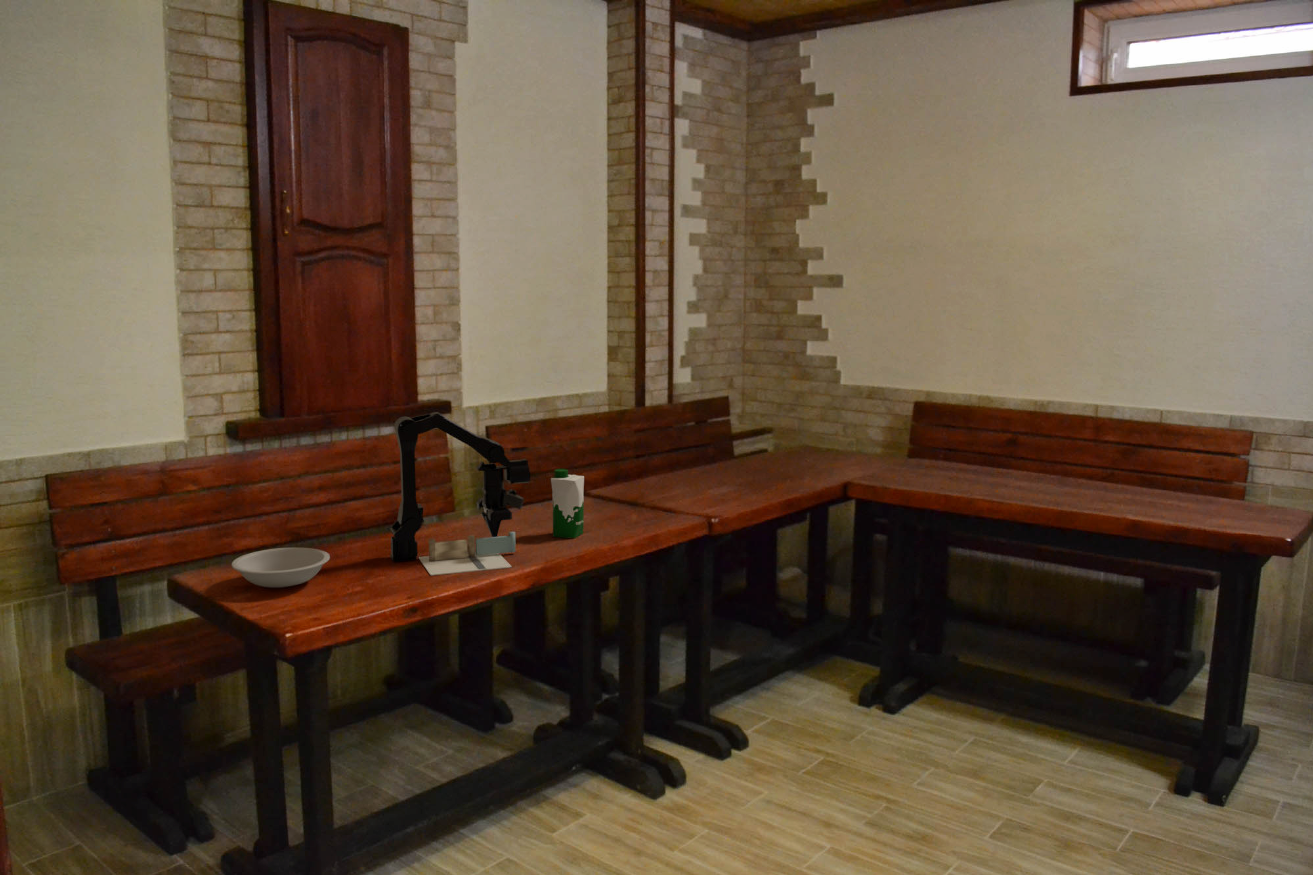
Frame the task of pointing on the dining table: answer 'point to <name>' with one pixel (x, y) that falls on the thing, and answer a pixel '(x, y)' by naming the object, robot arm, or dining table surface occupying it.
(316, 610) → the dining table surface
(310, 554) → the soup bowl
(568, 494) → the milk carton
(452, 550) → the fence fixed
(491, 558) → the card
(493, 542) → the fence flap
